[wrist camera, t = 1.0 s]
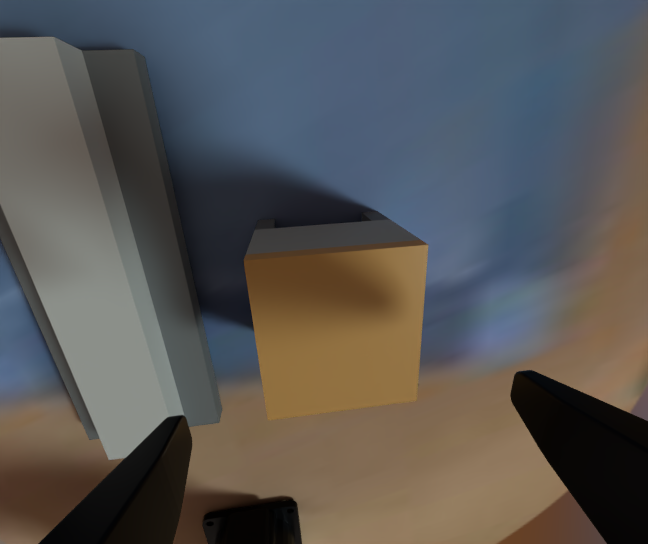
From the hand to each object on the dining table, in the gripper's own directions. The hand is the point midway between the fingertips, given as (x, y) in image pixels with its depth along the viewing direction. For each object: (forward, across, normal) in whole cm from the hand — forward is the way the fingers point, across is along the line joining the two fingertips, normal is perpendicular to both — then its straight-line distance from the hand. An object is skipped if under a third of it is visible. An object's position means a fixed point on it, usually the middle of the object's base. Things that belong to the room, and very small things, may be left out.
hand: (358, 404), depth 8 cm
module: (+9, 0, 0) cm, 9 cm away
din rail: (+9, +10, -1) cm, 13 cm away
